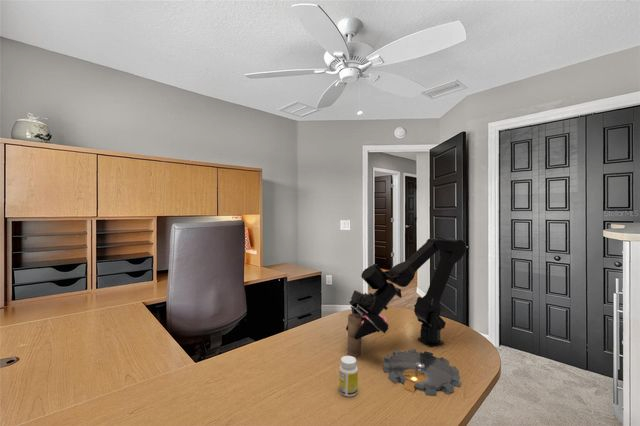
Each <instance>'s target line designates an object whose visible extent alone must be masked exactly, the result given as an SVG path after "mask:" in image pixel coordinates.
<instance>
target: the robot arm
mask: <svg viewBox="0 0 640 426" xmlns="http://www.w3.org/2000/svg"><path fill="white" fill-rule="evenodd" d="M466 250H467V246H466V243H465V242H464V241H463V240H462V239H457V238H449V237H448V238H447V237H446V238H444V239H440V238H434V237H431V238H428V239H427V240H426V242H425V243H424V244H423V245H422V246H420V248H418V249H417V250H416V251H414V253H413V254H412V255H410V257H408V258H407V259H406V260H405V261H403V262H400V263H399V262H398V263H397V264H395V265H394V266H392V267H391V268H390V269H388V270H385V271H384V270H383V269H382V268H381V267H380V265H379V264H377V263H374V264H372V265H370V266H368V267H367V268H364V270H363V271H362V273H361V276H360V277H361V279H362V280H364V282H365V283H366V284H367V285H368V286H369V287H370V288H371V289H372V290H375V291H374V292H373V293H371V292H370V293H366V292H365V293H362V292H361V291H358V290H355V289H354V291H353V293H352V295H351V297H350V301H349V302H348V303H349V304H350V305H351V306H350V309H351V314H359V315H361V316H364V315H365V316H367V317H368V318H369V319H367V318H365V317H364V318H363V317H362V321H363V320H364V322H363V324H362V326H361V327H360V329H359V330H358V332H357V333H356V335H355V336H354V338H355V339H356V340H357V339H359V338H361V339H362V338H364V337H366V336H368V335H371V334H374V333H379V332H380V331H381V332H382V333H383V334H386V332H387V331H388V330H389V324H388V322H387V323H386V322H385V321H384V320H383V319H382V318H381V317H380V316H379V315H381V313H382V312H383V311H384V310H385V311H387V310H388V308H389V307H388V305H389V303H390V302H392V300H393V298H395V296H396V297H398V298H402V296H403V295H402V289H400V288H399V287H401V288H405V287H408V286H409V285H410V284H411V282H412V281H413V280H414V278H415V275H416V272H417V271H418V270H419V269H420V268H421V267H422V266H423V265H424V264H426V262H428V261H429V260H430V258H432V257H433V256H434V255H435V254H436V253H438V251H439V261H438V264H437V266H436V269H435V271H434V274H433V276H432V278H431V281H430V283H429V286H428V289H427V291H426V293H425V295H424V296H418V297H417V299H416V302H415V304H414V306H413V307H414V310H413V313H414V315H415V317H416V318H417V321H418V322H419V323H421V326H420V327H421V328H420V332H419V333H420V337H417V340H418V341H420V342H422V343H423V344H425V345H427V346H429V347H437V346H439V345H442V344H444V341H443V340H441V330H443V329H445V328H446V324H447V323H446V322H445V320H444V319H443V318H442V317H441V313H442V312H441V311H442V308H441V303H440V301H441V299H442V297H443V293H444V291H445V289H446V286H447V284H448V281H449V278H450V277H451V273H452V271H453V268H454V266H455V264H457V263H458V262H459V261H460V260H461V259H462V258H463V256H464V255H465V253H466ZM395 285H396V286H398V287H396V286H395ZM378 329H379V330H378ZM345 330H346V331H347V332H348V324H347V325H346V328H345Z"/></svg>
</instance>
